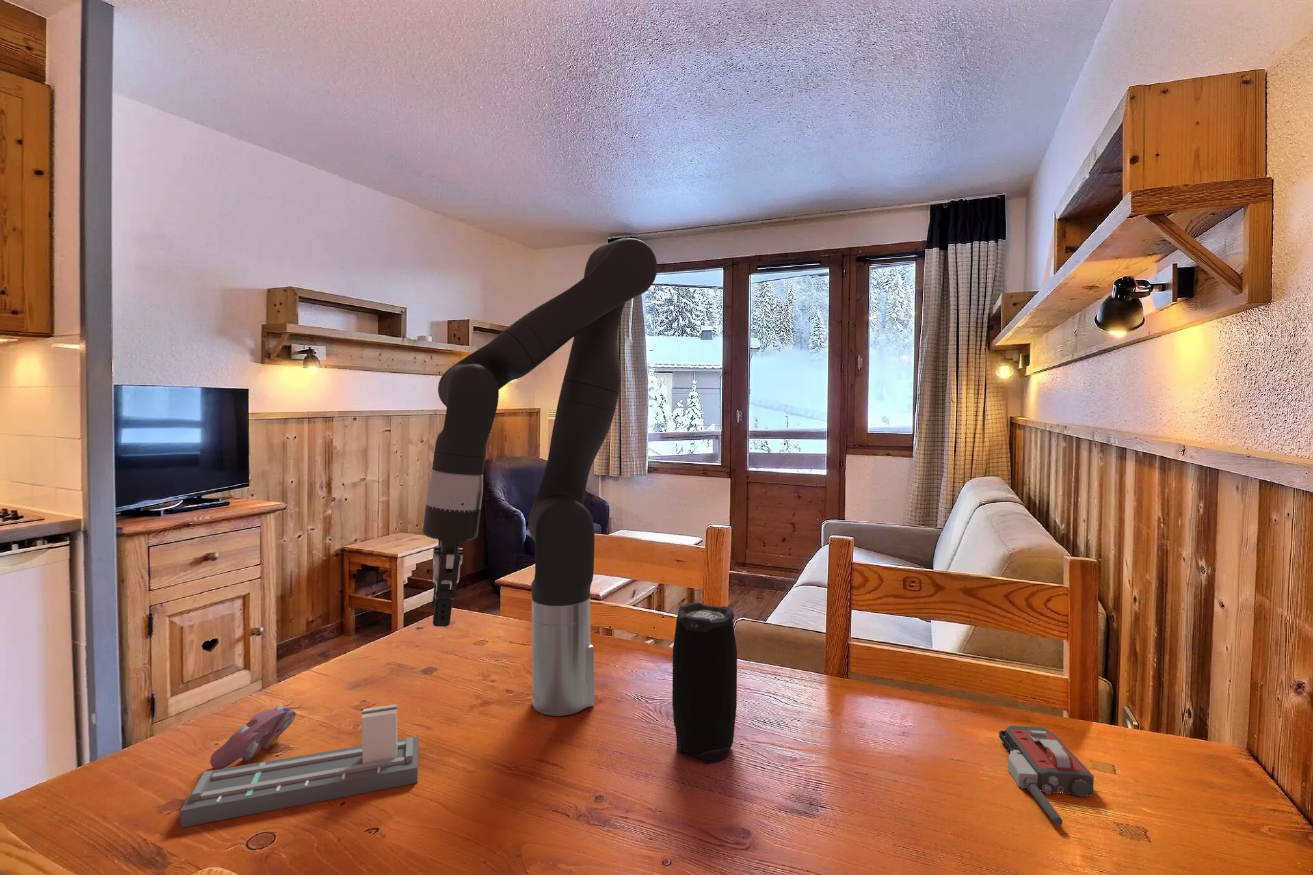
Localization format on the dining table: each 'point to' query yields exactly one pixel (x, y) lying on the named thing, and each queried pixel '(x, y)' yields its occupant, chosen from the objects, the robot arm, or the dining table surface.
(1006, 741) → the walkie-talkie
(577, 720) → the dining table surface
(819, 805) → the dining table surface
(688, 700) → the portable speaker
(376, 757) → the fader tab
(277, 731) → the video game controller
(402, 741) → the fader console
